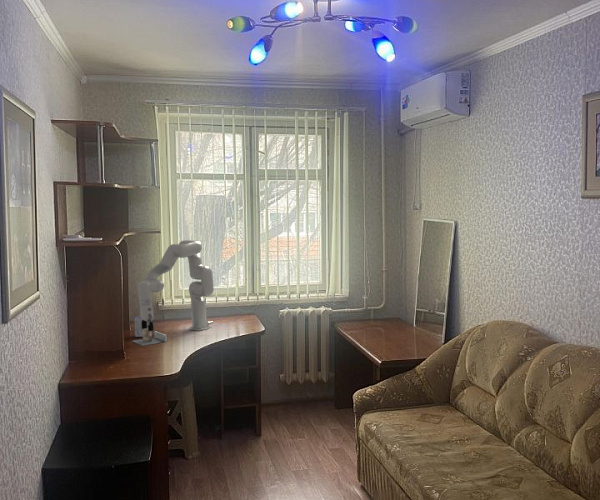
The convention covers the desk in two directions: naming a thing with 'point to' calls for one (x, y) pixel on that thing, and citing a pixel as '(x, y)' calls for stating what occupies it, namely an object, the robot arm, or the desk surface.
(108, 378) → the desk surface
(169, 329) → the desk surface
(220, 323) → the desk surface
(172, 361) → the desk surface
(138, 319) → the ink cartridge box
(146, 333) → the birch cylinder
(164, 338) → the plate
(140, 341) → the board
